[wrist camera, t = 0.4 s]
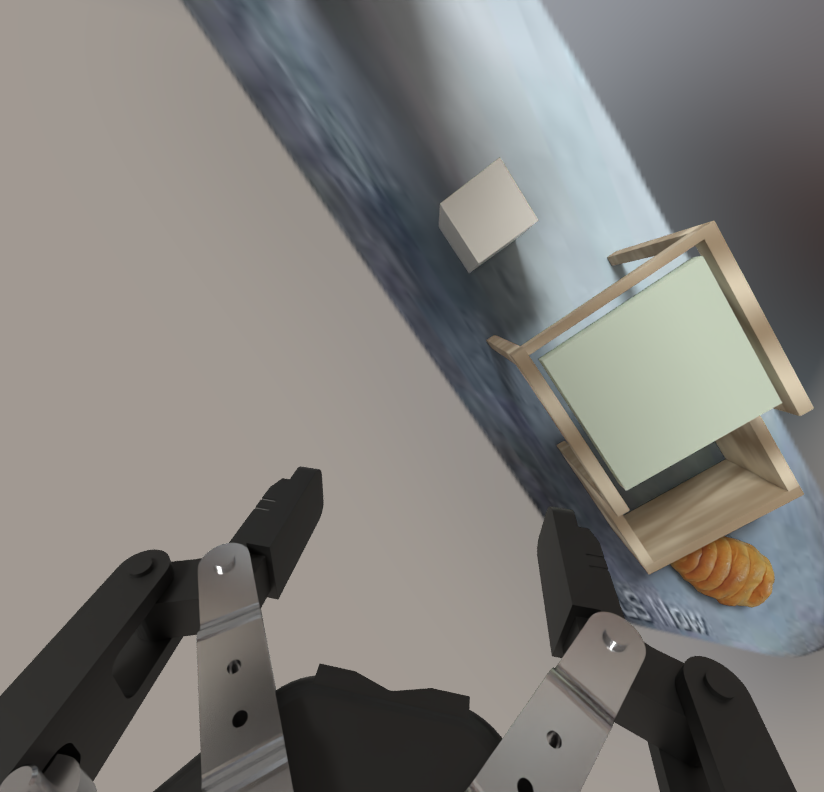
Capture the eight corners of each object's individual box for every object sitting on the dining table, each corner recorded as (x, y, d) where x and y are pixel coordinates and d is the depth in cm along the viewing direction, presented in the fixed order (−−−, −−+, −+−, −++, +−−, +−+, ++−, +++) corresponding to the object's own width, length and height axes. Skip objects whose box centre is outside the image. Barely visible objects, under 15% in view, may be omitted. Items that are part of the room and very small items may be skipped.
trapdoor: (538, 359, 26) (542, 361, 25) (691, 257, 24) (702, 255, 23) (619, 484, 28) (626, 490, 27) (769, 399, 26) (782, 402, 25)
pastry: (649, 565, 42) (670, 589, 38) (683, 513, 40) (708, 533, 37) (726, 597, 42) (755, 625, 38) (762, 547, 41) (796, 570, 37)
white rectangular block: (438, 227, 35) (439, 203, 27) (485, 191, 34) (500, 157, 27) (469, 273, 36) (478, 263, 28) (515, 239, 35) (538, 220, 27)
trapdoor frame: (486, 340, 37) (511, 355, 25) (616, 251, 35) (714, 220, 23) (613, 530, 41) (689, 624, 29) (738, 461, 38) (879, 532, 26)
